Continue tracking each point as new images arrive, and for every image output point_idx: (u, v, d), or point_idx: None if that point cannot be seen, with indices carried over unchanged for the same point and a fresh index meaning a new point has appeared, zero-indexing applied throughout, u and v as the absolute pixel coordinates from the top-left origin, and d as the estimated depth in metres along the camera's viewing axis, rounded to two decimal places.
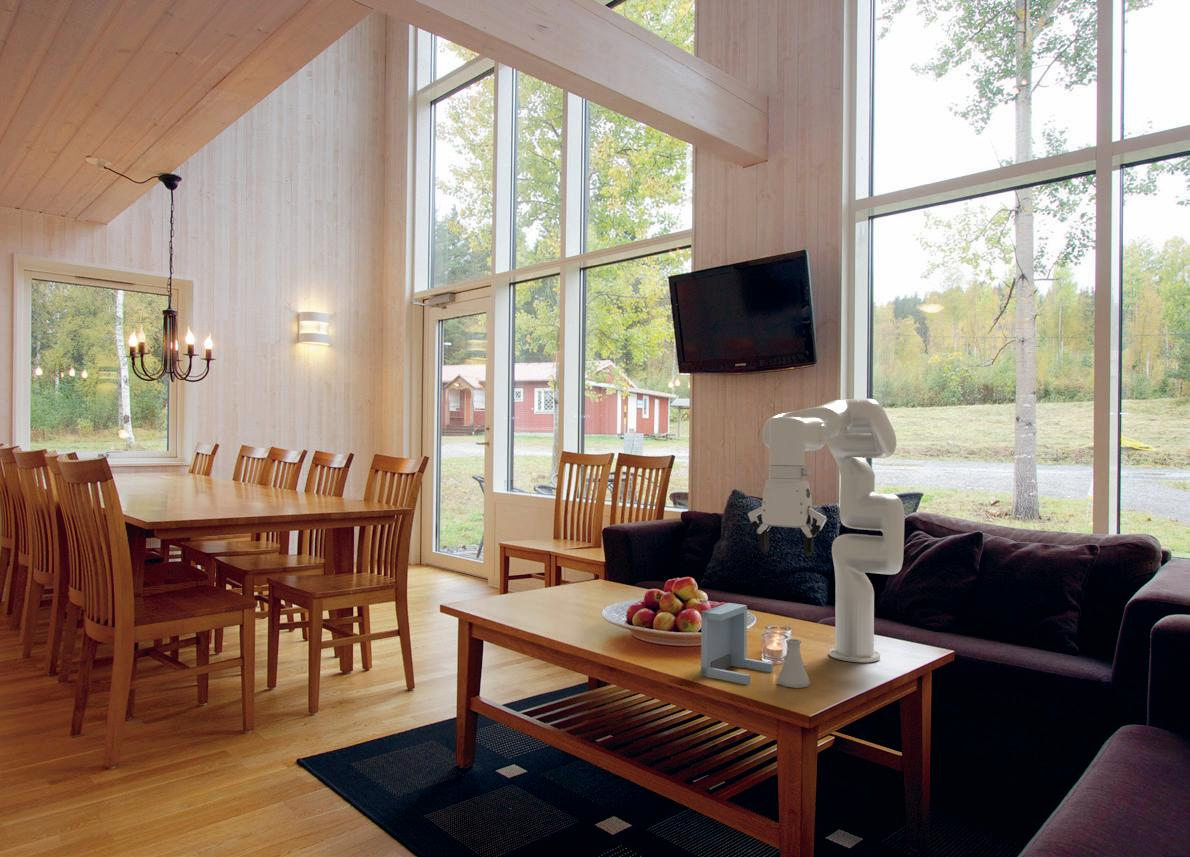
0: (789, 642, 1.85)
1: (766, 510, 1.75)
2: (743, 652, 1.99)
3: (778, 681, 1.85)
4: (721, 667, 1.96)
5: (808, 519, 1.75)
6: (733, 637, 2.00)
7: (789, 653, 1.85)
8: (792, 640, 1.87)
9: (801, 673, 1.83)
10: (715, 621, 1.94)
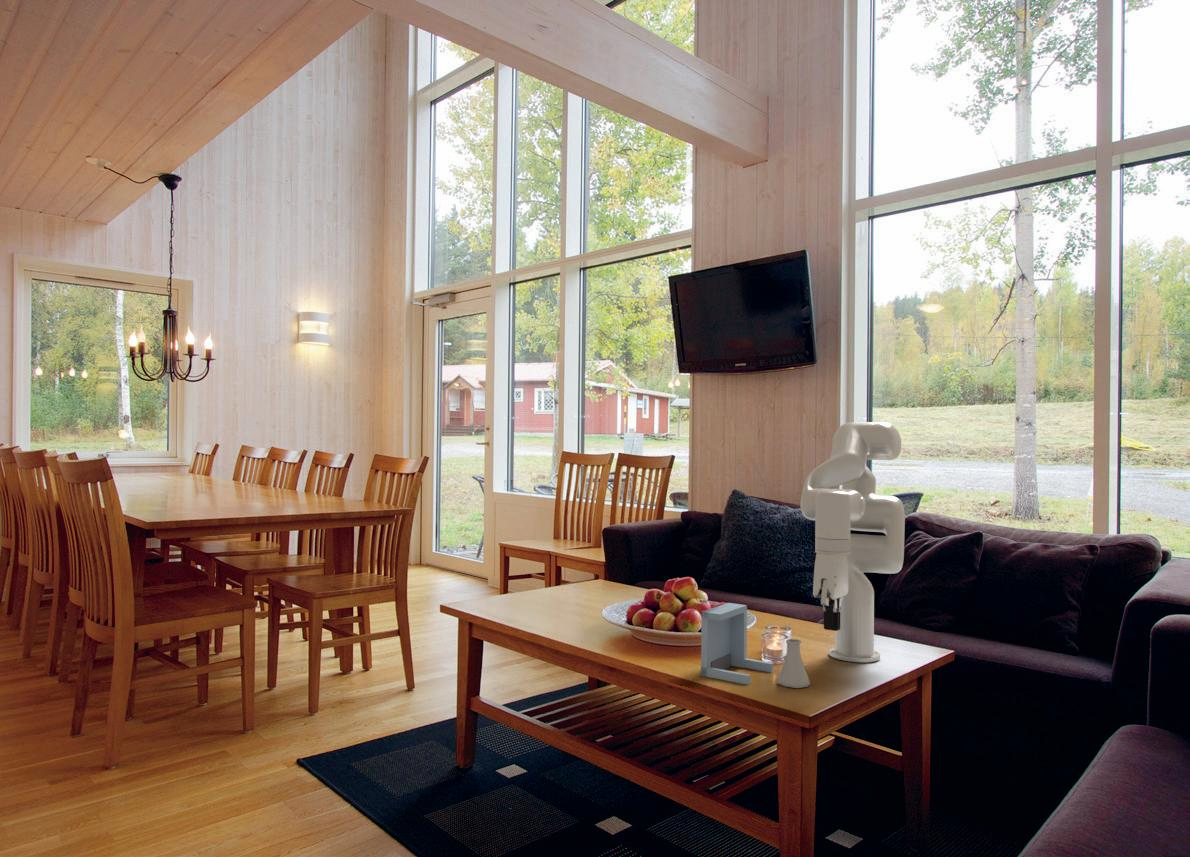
0: (789, 642, 1.85)
1: (836, 584, 1.76)
2: (743, 652, 1.99)
3: (778, 681, 1.85)
4: (721, 667, 1.96)
5: None
6: (733, 637, 2.00)
7: (789, 653, 1.85)
8: (792, 640, 1.87)
9: (801, 673, 1.83)
10: (715, 621, 1.94)
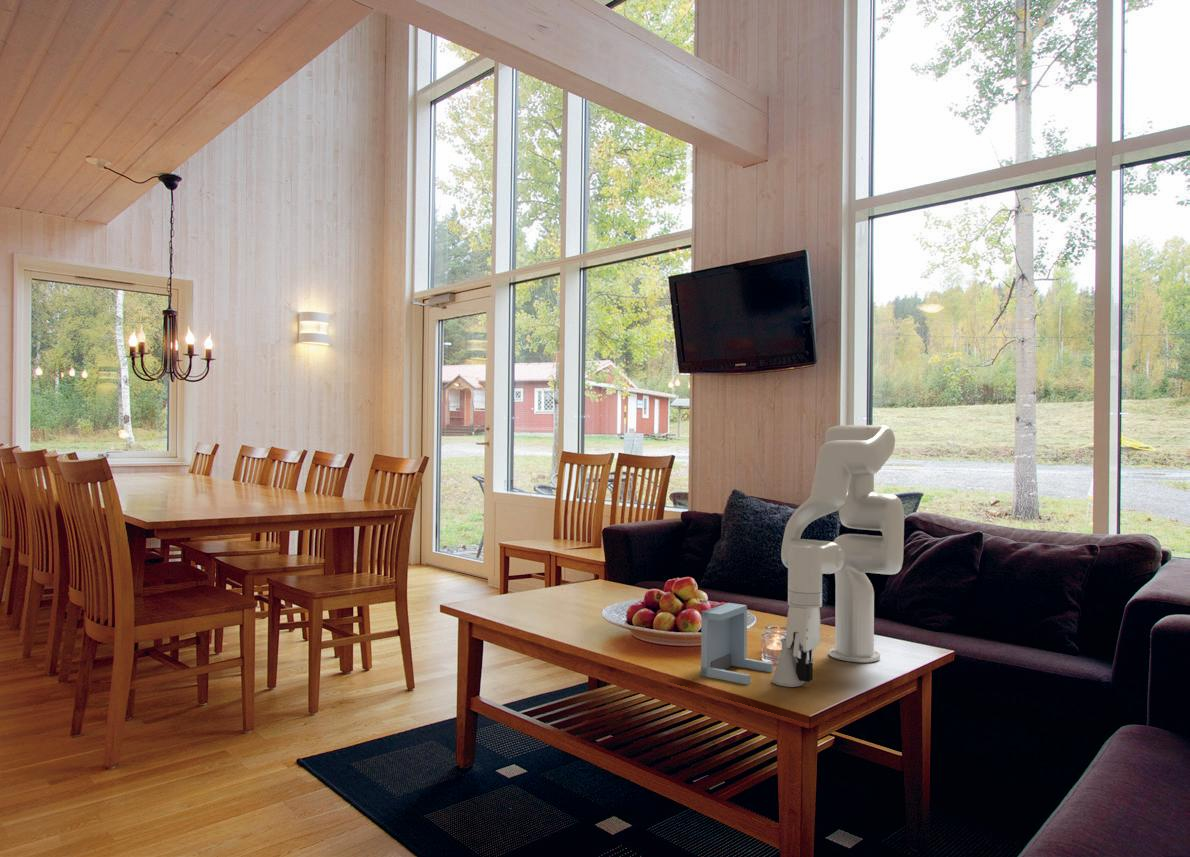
0: (783, 641, 1.85)
1: (808, 638, 1.80)
2: (743, 652, 1.99)
3: (772, 680, 1.86)
4: (721, 667, 1.96)
5: None
6: (733, 637, 2.00)
7: (783, 652, 1.86)
8: None
9: (795, 672, 1.84)
10: (715, 621, 1.94)
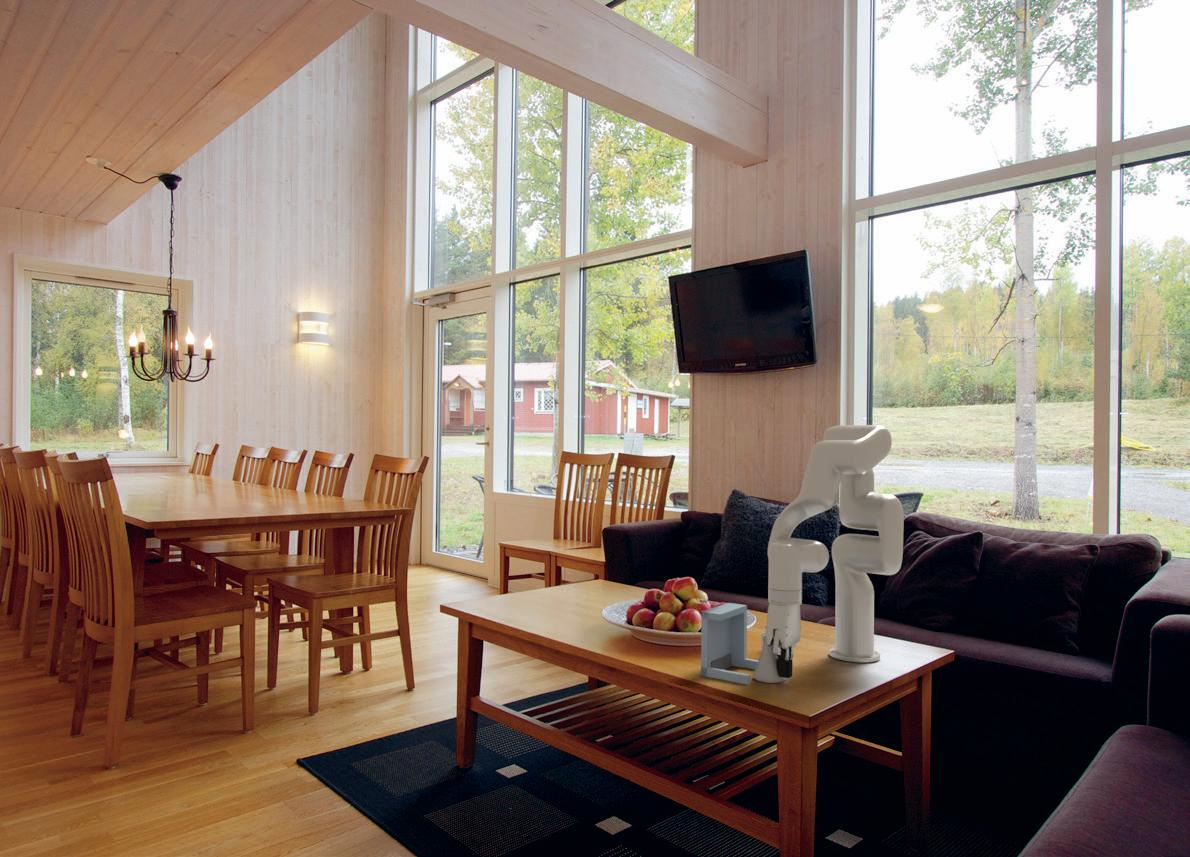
0: (764, 638, 1.89)
1: (787, 634, 1.83)
2: (743, 652, 1.99)
3: (753, 676, 1.89)
4: (721, 667, 1.96)
5: None
6: (733, 637, 2.00)
7: (764, 649, 1.89)
8: None
9: (775, 668, 1.87)
10: (715, 621, 1.94)
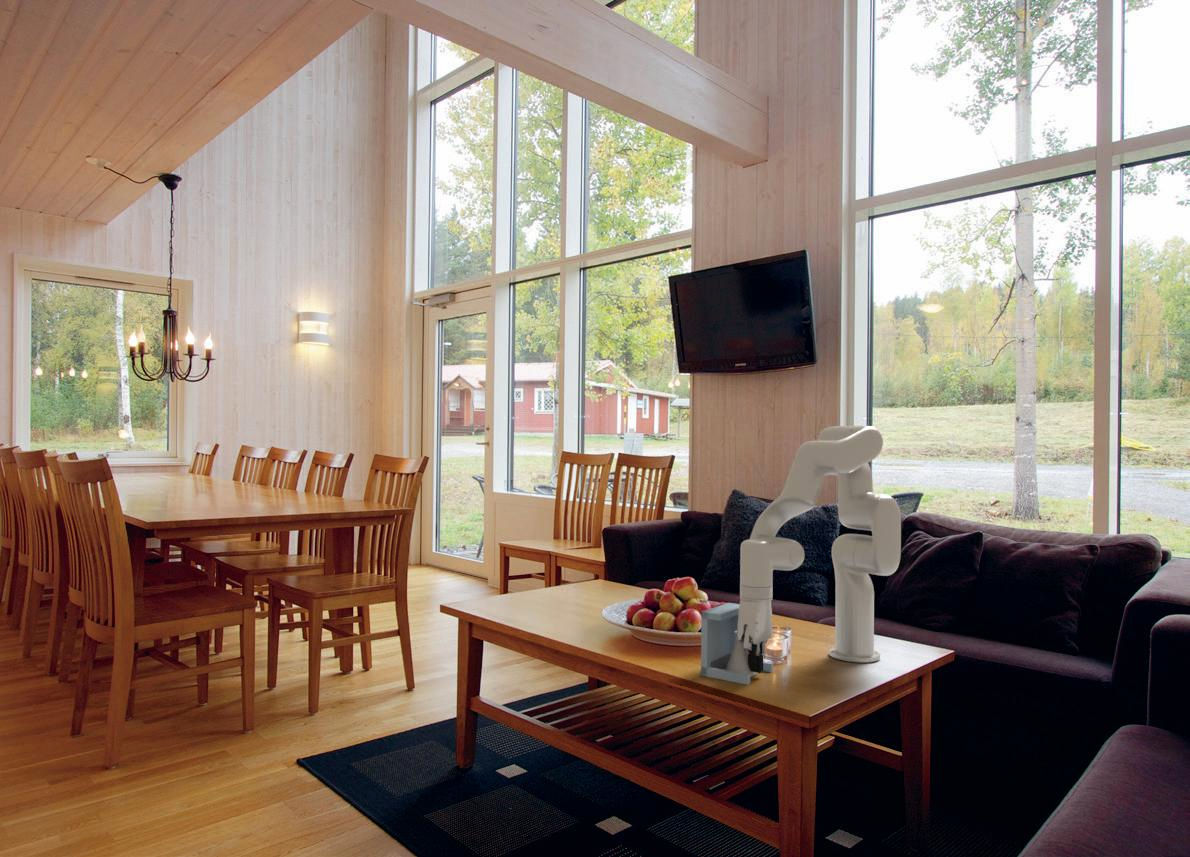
0: (736, 633, 1.93)
1: (758, 630, 1.87)
2: None
3: None
4: (721, 667, 1.96)
5: None
6: (733, 637, 2.00)
7: (736, 644, 1.93)
8: None
9: (747, 663, 1.91)
10: (715, 621, 1.94)
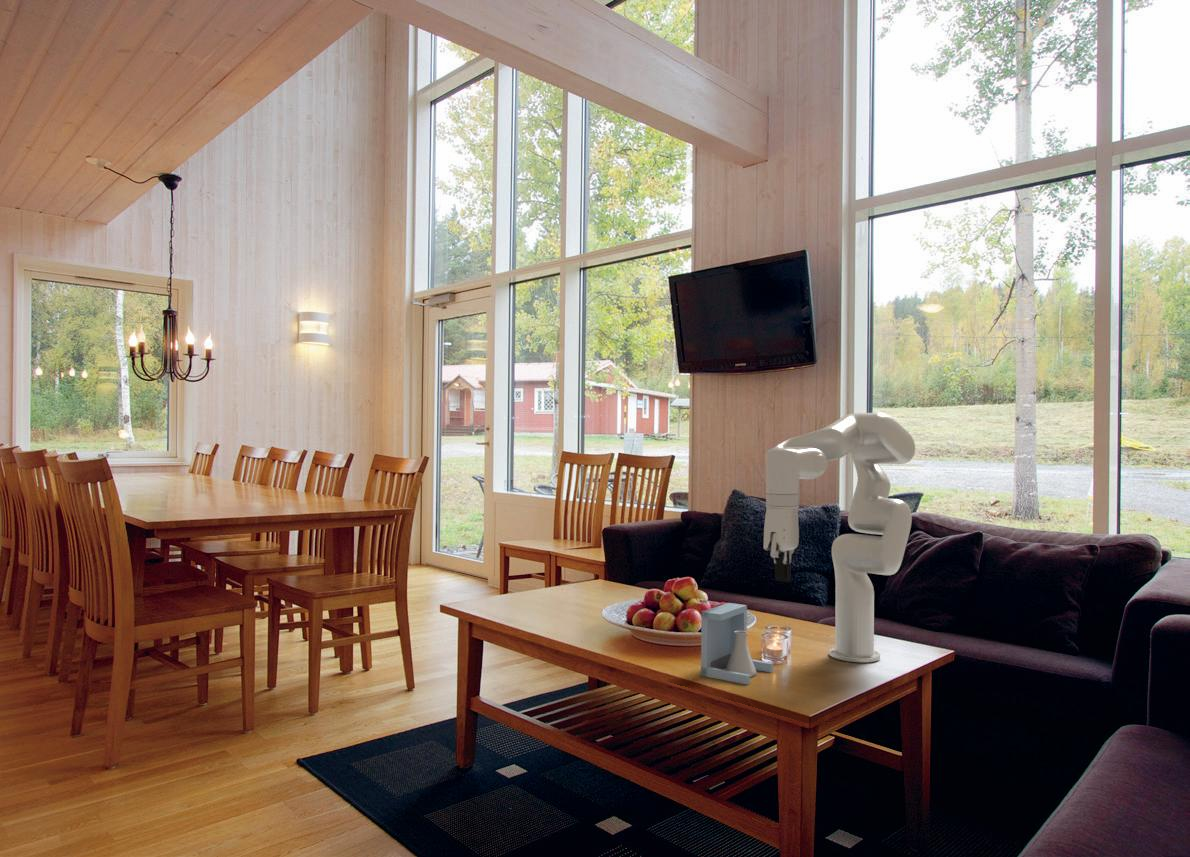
0: (736, 633, 1.93)
1: (785, 537, 1.84)
2: None
3: None
4: (721, 667, 1.96)
5: None
6: (733, 637, 2.00)
7: (736, 644, 1.93)
8: (740, 632, 1.95)
9: (747, 663, 1.91)
10: (715, 621, 1.94)
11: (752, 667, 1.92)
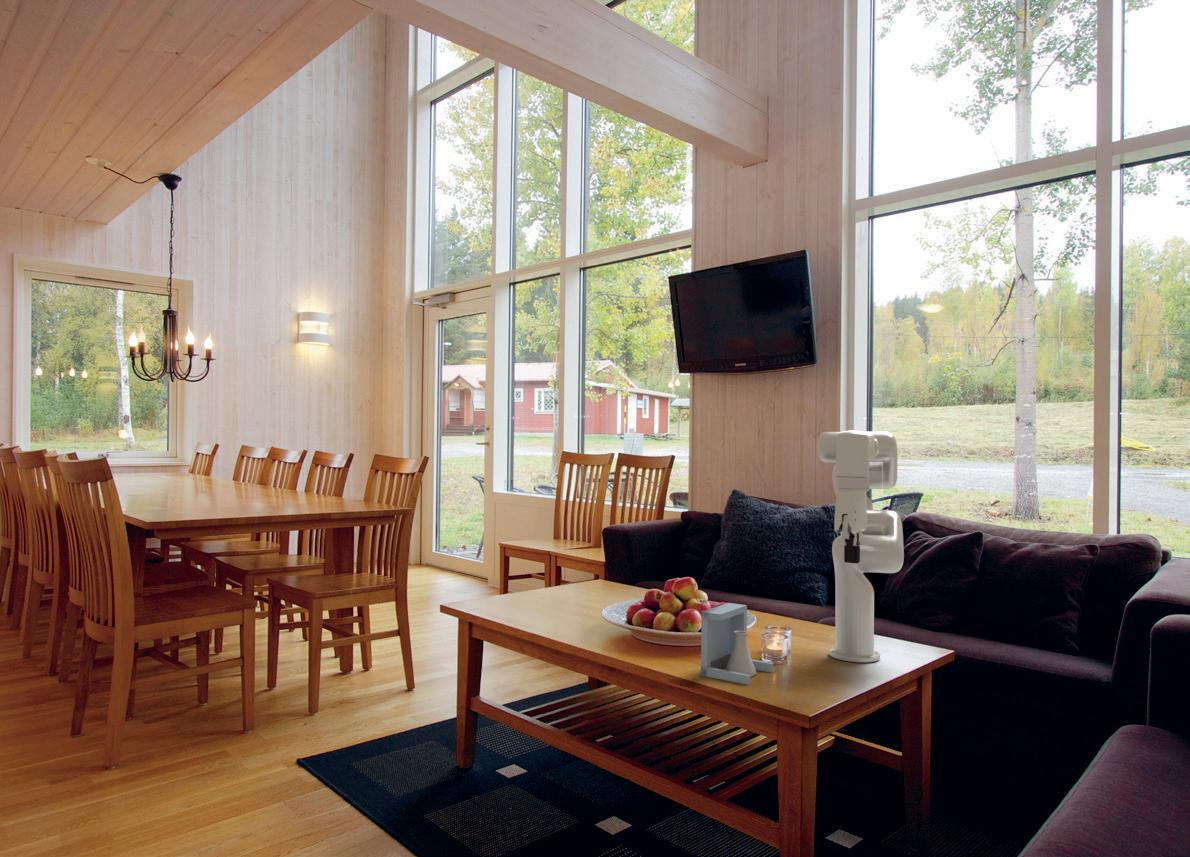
0: (736, 633, 1.93)
1: (856, 519, 1.87)
2: None
3: None
4: (721, 667, 1.96)
5: None
6: (733, 637, 2.00)
7: (736, 644, 1.93)
8: (740, 632, 1.95)
9: (747, 663, 1.91)
10: (715, 621, 1.94)
11: (752, 667, 1.92)
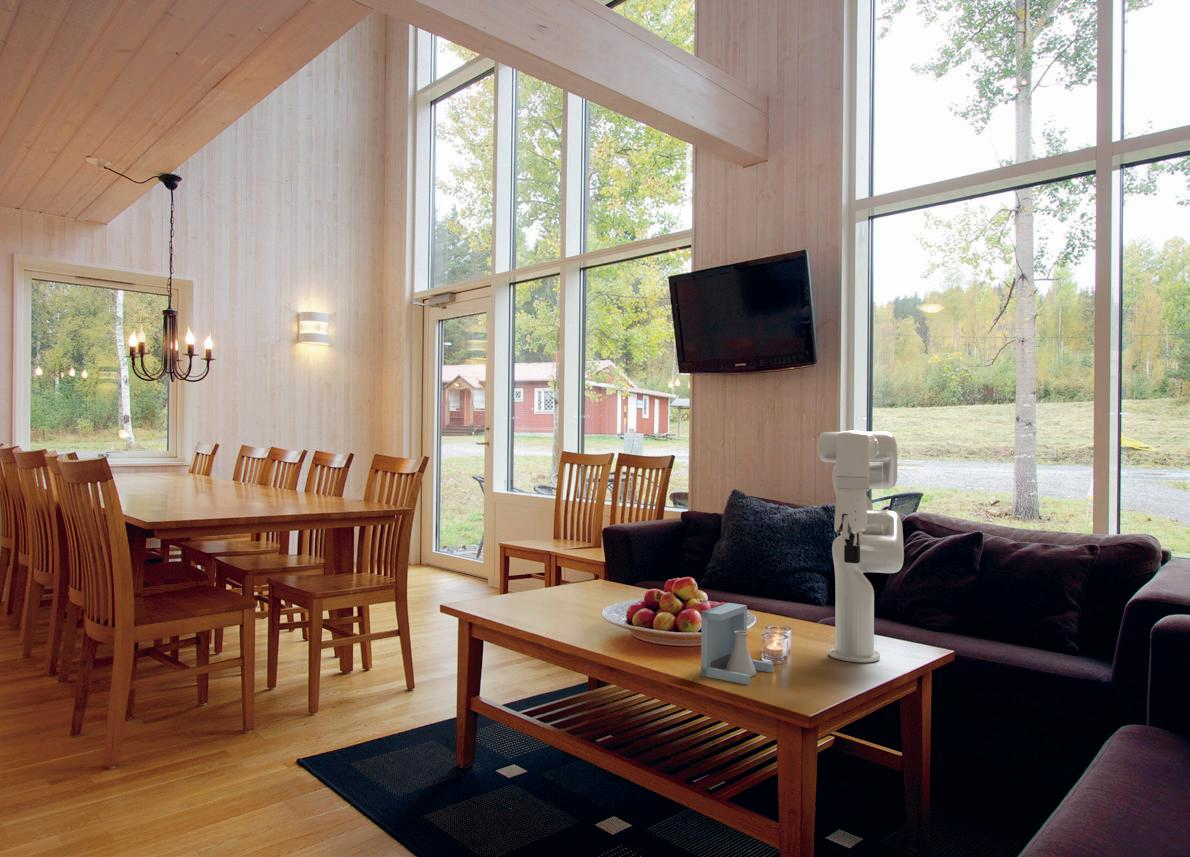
0: (736, 633, 1.93)
1: (856, 519, 1.87)
2: None
3: None
4: (721, 667, 1.96)
5: None
6: (733, 637, 2.00)
7: (736, 644, 1.93)
8: (740, 632, 1.95)
9: (747, 663, 1.91)
10: (715, 621, 1.94)
11: (752, 667, 1.92)
